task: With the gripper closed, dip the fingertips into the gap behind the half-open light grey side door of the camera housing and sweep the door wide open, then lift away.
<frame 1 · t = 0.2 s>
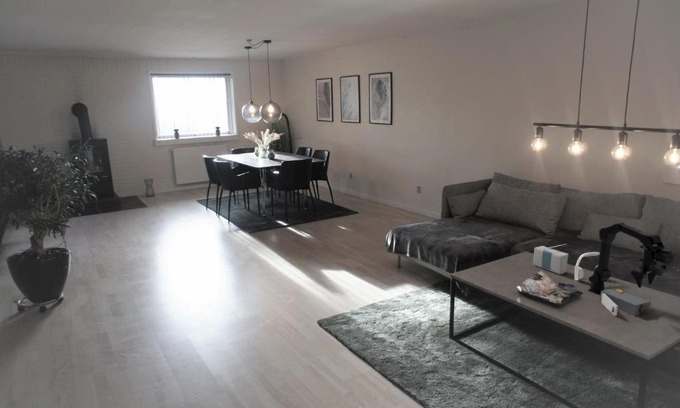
hand: (644, 286, 243), 14 cm above the table, tool pointing down, fingers open, 9 cm apart
camera housing: (624, 306, 252), on the table
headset: (588, 279, 289), on the table
stereo radio cassette player: (549, 269, 307), on the table
side door: (608, 303, 248), point 3 cm above the table, hinge at 30.0°
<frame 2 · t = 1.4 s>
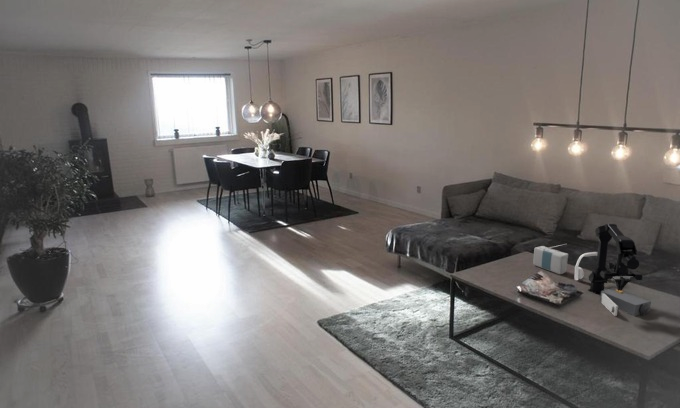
hand: (619, 290, 243), 12 cm above the table, tool pointing down, fingers closed
nothing on the table moved.
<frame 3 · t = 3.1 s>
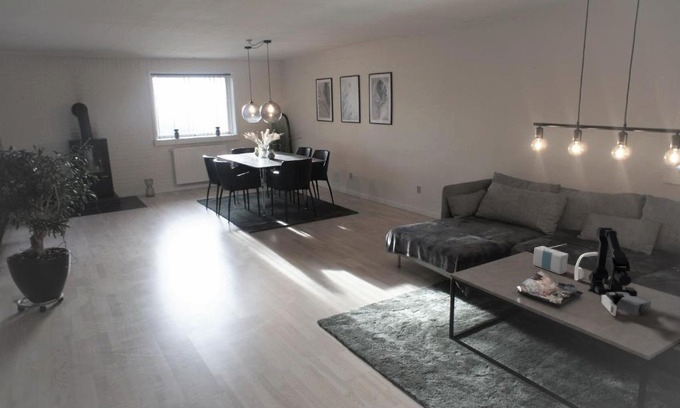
hand: (614, 306, 245), 3 cm above the table, tool pointing down, fingers closed
side door: (607, 303, 248), point 3 cm above the table, hinge at 32.0°, touching gripper
everything else where it was.
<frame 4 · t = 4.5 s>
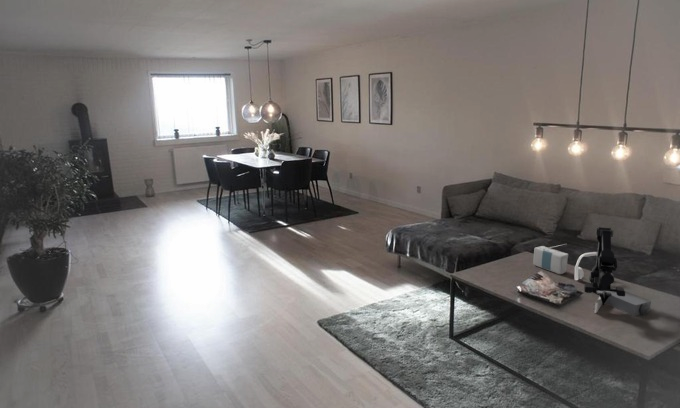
hand: (602, 304, 247), 3 cm above the table, tool pointing down, fingers closed
side door: (598, 302, 250), point 3 cm above the table, hinge at 62.9°, touching gripper
everything else where it was.
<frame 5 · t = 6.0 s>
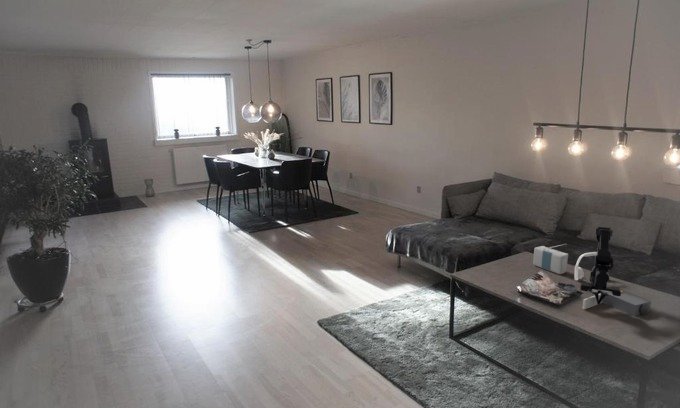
hand: (598, 304, 248), 3 cm above the table, tool pointing down, fingers closed
side door: (592, 300, 252), point 3 cm above the table, hinge at 84.1°
everything else where it was.
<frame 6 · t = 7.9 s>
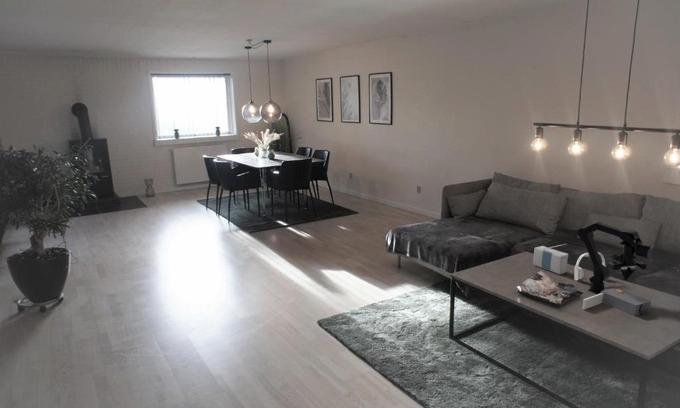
hand: (625, 280, 257), 12 cm above the table, tool pointing down, fingers closed
nothing on the table moved.
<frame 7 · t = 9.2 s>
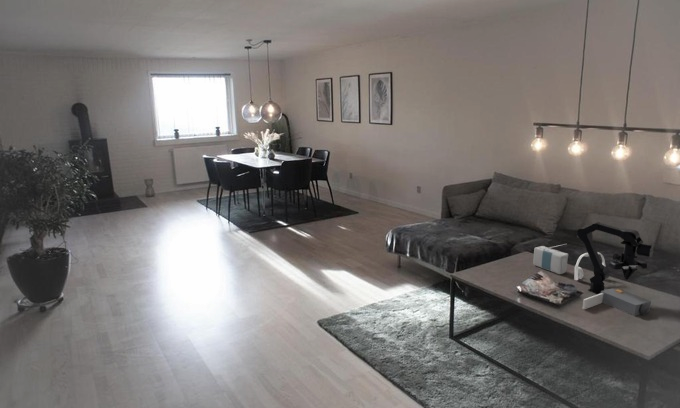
hand: (626, 279, 257), 12 cm above the table, tool pointing down, fingers closed
nothing on the table moved.
at the end: side door at +84° (first picture: +30°) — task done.
